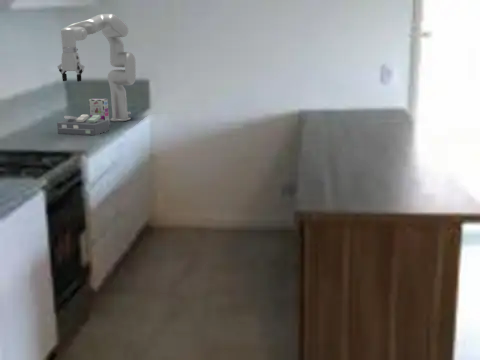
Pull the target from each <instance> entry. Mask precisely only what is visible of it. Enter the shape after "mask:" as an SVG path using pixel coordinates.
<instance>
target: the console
mask: <svg viewBox="0 0 480 360" xmlns="http://www.w3.org/2000/svg"><path fill="white" fill-rule="evenodd" d="M109 120H110V119H109ZM109 120H97V121H96V122H95V123H88V119H86V120H85V121H84V122H76V120H71V119H65V120H62V121H59V122H57V123H56V124H57V125H56V126H57V133H58V134H66V135H67V134H68V135H85V136H87V135H88V136H98V135H101V134H103V132H104V133H106V132H105V131H107V132H109V131H110V126H109ZM108 130H109V131H108ZM100 133H101V134H100ZM97 134H98V135H97Z"/></svg>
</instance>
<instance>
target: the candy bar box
mask: <svg viewBox="0 0 480 360" xmlns="http://www.w3.org/2000/svg"><path fill="white" fill-rule="evenodd" d="M88 104H89V105H88V106H89V118H91V117H92V116H93V115H100V116H101V118H100V119H99V120H109V127H110V126H111V123H110V122H111V120H110V112H109V111H110V108H109V99H108V98H90V99H88Z"/></svg>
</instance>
